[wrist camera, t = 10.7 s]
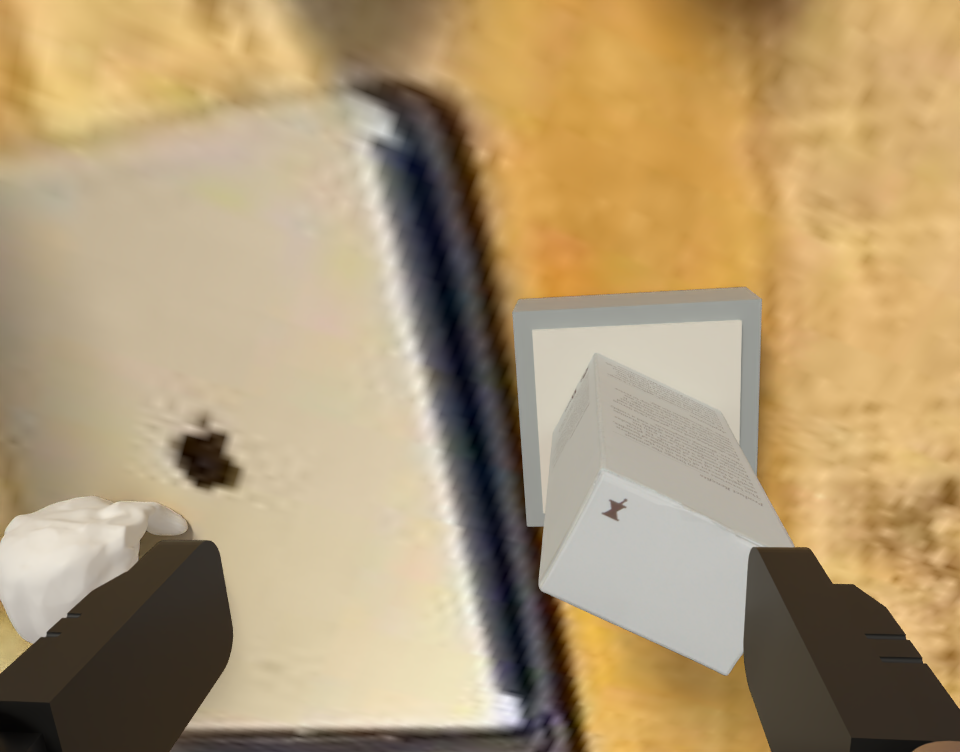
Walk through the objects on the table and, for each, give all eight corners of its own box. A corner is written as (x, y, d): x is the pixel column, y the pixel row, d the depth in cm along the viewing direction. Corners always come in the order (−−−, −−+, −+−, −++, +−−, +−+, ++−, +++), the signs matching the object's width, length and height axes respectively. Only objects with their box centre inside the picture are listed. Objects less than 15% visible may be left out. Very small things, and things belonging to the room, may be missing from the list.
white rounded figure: (79, 567, 30) (128, 773, 34) (185, 467, 38) (213, 646, 42) (-56, 552, 31) (9, 755, 35) (75, 457, 39) (114, 633, 43)
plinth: (531, 497, 36) (526, 529, 33) (518, 299, 33) (511, 313, 30) (741, 495, 34) (757, 528, 31) (745, 287, 31) (763, 300, 28)
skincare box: (549, 434, 31) (529, 589, 20) (594, 348, 30) (599, 462, 18) (676, 494, 31) (729, 684, 20) (726, 411, 30) (814, 564, 18)
